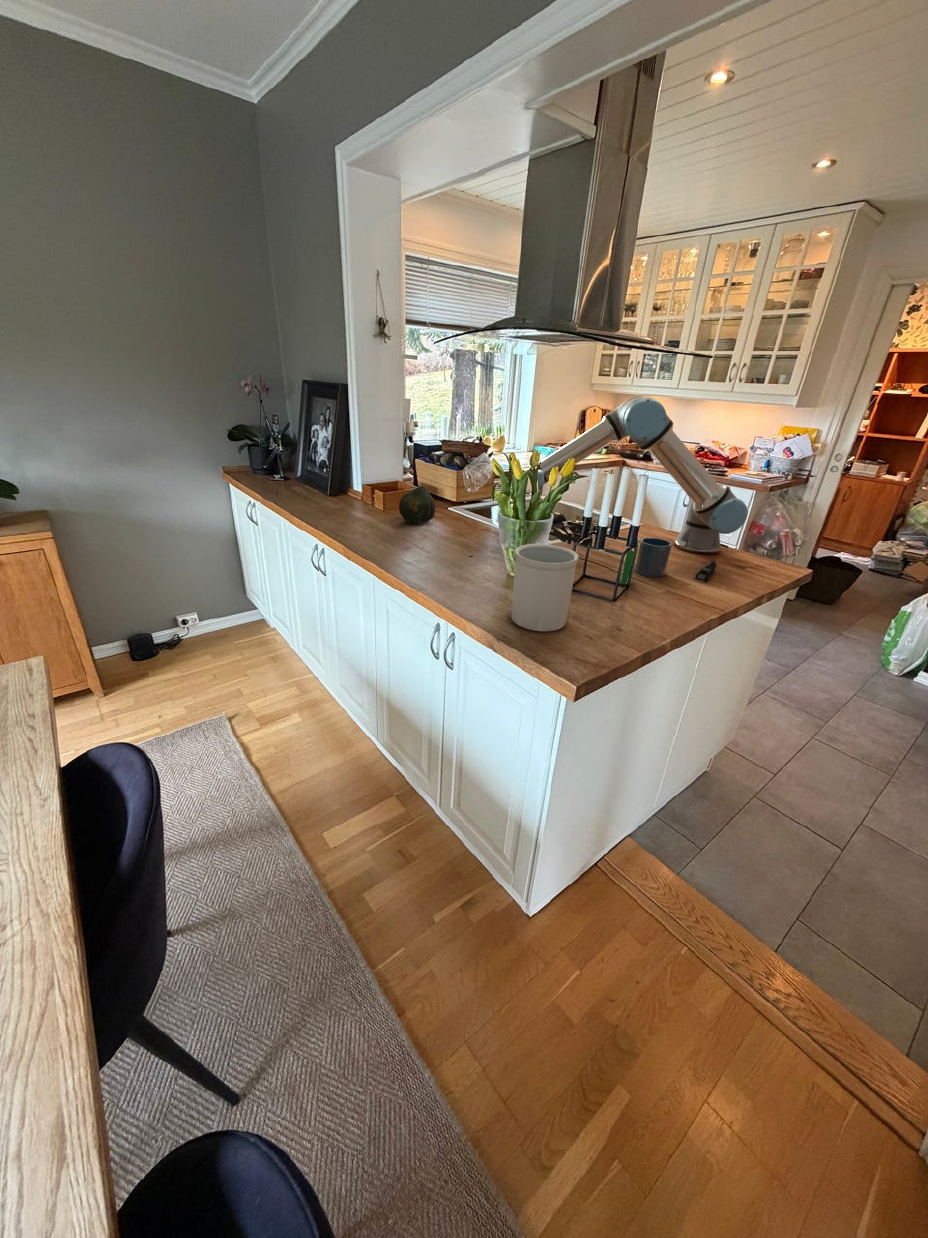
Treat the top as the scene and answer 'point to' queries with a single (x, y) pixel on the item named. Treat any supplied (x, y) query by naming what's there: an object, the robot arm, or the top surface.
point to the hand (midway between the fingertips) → (604, 538)
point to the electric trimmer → (706, 572)
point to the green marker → (628, 564)
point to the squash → (417, 505)
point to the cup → (653, 557)
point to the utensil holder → (542, 586)
